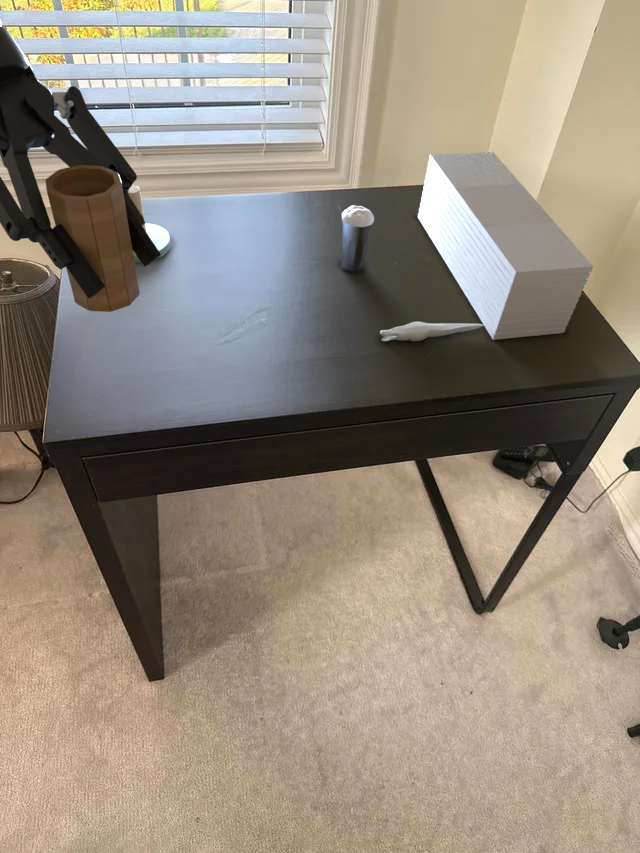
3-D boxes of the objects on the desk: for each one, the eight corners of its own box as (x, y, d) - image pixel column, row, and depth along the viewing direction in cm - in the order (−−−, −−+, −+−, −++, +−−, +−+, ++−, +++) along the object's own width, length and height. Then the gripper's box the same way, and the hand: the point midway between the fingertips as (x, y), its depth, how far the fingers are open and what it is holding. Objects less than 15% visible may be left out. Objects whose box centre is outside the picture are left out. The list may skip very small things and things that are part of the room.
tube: (77, 316, 63) (48, 203, 55) (71, 278, 67) (43, 167, 59) (143, 307, 65) (125, 196, 56) (133, 270, 69) (115, 161, 60)
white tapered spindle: (381, 347, 84) (383, 336, 83) (375, 334, 86) (377, 323, 84) (486, 336, 87) (490, 325, 86) (479, 324, 89) (482, 313, 87)
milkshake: (328, 260, 97) (333, 198, 90) (361, 256, 98) (369, 194, 91) (337, 277, 94) (343, 214, 87) (371, 272, 95) (380, 210, 88)
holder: (113, 266, 92) (101, 208, 86) (105, 233, 98) (94, 177, 91) (175, 258, 95) (169, 201, 88) (165, 226, 100) (158, 171, 94)
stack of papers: (417, 217, 107) (430, 153, 99) (476, 214, 109) (493, 151, 101) (492, 340, 86) (516, 272, 79) (563, 333, 89) (593, 266, 81)
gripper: (-141, 45, 48) (55, 311, 54) (70, -2, 59) (212, 223, 65) (-147, 99, 54) (30, 334, 60) (47, 48, 65) (179, 249, 71)
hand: (125, 275), depth 62 cm, fingers closed on tube, 6 cm apart
